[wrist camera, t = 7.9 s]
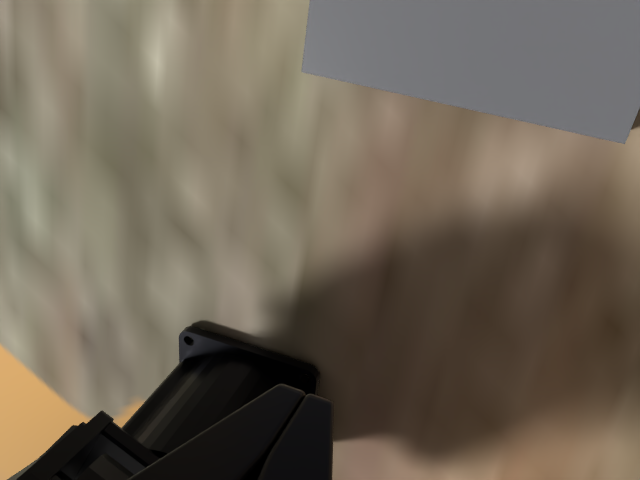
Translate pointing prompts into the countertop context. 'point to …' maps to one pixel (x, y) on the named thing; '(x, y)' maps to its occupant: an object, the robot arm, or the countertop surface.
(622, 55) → the base
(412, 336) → the countertop surface
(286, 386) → the robot arm
